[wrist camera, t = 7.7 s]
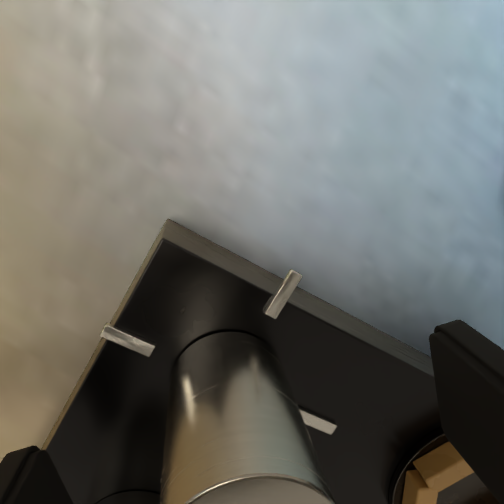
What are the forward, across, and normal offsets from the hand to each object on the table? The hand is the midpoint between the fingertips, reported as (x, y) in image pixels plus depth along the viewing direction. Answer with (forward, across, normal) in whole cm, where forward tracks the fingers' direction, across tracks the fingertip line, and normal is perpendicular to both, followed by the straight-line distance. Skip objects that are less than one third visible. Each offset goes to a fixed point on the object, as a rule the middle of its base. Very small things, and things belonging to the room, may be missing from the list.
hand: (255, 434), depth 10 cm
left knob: (+2, 0, 0) cm, 2 cm away
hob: (+5, -1, +5) cm, 7 cm away
